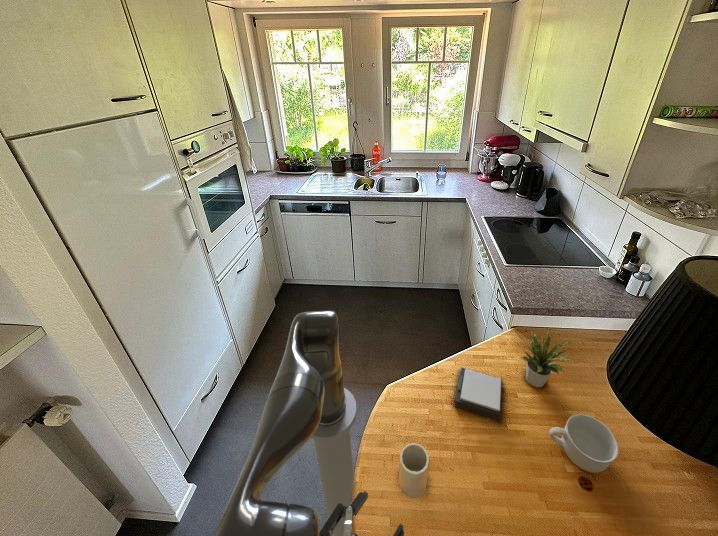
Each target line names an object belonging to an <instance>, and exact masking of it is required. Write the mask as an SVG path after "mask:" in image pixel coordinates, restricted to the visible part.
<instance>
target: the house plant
mask: <svg viewBox="0 0 718 536" xmlns="http://www.w3.org/2000/svg"><path fill="white" fill-rule="evenodd" d="M529 332H530V335H531V338H532V340H531V342H529V345H530V346H531V347H530V346H528V345H527V344H525V343H521V345H522V346H524V347H525V348H527V349H528V350H529V351H530V352H531V354H532V355H533V356H531V354H529V353H528V352H527V351H526V350H525V349H522V352H524V354H525V356H521V357H519V358H520V359H523V361H526V367H525V368H526V369H525V380H526V382H527V383H528V384H529V385H530V386H532V387H534V388H542V387H544V385H545V384H546V383H547V381H548V380H549V378H550V377H551V375H553V374H552V373H556V374H558V375H560V373H559V371H560V372H561V373H563V367H562V366H561V364H558V363H553V362H556V361H560V360H561V361H568V362H570V363H573V364H576V362H575V361H574V360H572V359H571V358H568V357H564V356H561V355H564V354H565V353H566V352H570V350H569V349H564V350H561V351H558V352H557V350H559V349H560V348H562V347H564V346H566V345H567V344H570V343H571V341H563V342H560V343H558V344H556V345H555V346H553V347H552V348H551V350H549V348H550V344H551V335H550V331H549V329H547V330H546V335H545V337H546V338H545V340H544V338H543V336H542V334H541V333H539V336H540V338H541V339H540V338H539V339H537V335H536V333H534V332H532V331H531V330H529ZM541 342H542V343H541ZM548 351H549V352H548Z"/></svg>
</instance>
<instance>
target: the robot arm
mask: <svg viewBox="0 0 718 536" xmlns="http://www.w3.org/2000/svg"><path fill="white" fill-rule="evenodd" d="M340 331H341V330H340V321H339V316H338V314H337V312H336V311H335V310H315V311H314V310H313V311H303V312H299V313H297V314H296V315H295V316H294V318H293V320H292V323H291V325H290V329H289V331H288V332H289V333H288V337H287V342H286V345H285V350H284V352H283V356H282V358H281V359H282V360H281V361H280V365H279V367H278V370H277V373H276V375H275V378H274V381H273V383H272V385H271V388H270V389H269V390H270V391H269V393H268V396H267V399H266V401H265V404H264V407H263V411H262V414H261V416H260V420H259V423H258V426H257V428H256V433H255V435H254V438H253V441H252V444H251V447H250V449H249V453H248V454H247V457H246V460H245V462H244V464H243V467H242V470H241V471H240V474H239V476H238V478H237V481H236V484H235V486H234V488H233V491H232V493H231V495H230V497H229V500H228V501H227V505H226V506H225V509H224V511H223V513H222V515H221V518H220V520H219V523H218V525H217V528H216V531H215V533H214V536H334V533H333V531H334V529H335V527H336V526H337V524H338V523H339V521H340V520H341V518H342V517H344V518H345V526H344V536H358V535H357V534H352V525H353V516H354V515H355V516H356V515H357V516H358V513H359V512H360V510H361V509H362V508H363V506H364V505H365V503H366V501H367V500H368V498H369V494H368V493H369V492H367V491H366V490H364V491H363V492H362V491H360V492H358V494H357V495H356V496H355V497H356V498H355V499H354V501H353V502H352V504H351V505H350V506H348V507H346V506H344V505H343V504H342V503H339V504H338V505H337V506H336V508H335V509H334V511H333V513H332V514H331V516H330V517H329V519H328V518H327V520H326V521H325V523H324V525H323V526H322V527H321V529H320V522H319V516H318V514H317V512H316V511H315V510H314V509H313V508H312V507H309V506H306V505H302V504H296V503H287V502H280V501H279V502H278V501H269V500H262V496H263V495H264V493H265V491H266V490H267V488H268V486H269V484H270V483H271V481H273V479H274V477H275V476H276V475H277V473H278V472H280V470H281V469H282V468H283V467H284V466H285V465H286V464H287V463H288V462H289V461H290V460H291V459H292V458H293V457H294V456H295V455H296V454H297V453H298V452H299V451H300V450H301V449H302V448H303V447H304V446H305V445H306V444H307V443H308V442H309V441H310V440H311V439H312V438H311V437H312V436H313V434H314V433H315V431H316V430H317V428H318V426H319V425H321V426H331V425H334V424H336V423H338V422H339V421H340V420H341V419H342V418H343V416H344V414H345V411H346V403H347V402H346V403H345V399H346V397H345V393H344V388H345V386H344V385H345V384H344V373H343V364H342V355H341V341H340V339H341V337H340V336H341V335H340V333H341V332H340ZM404 528H405V526H404V525H403V524H402V523H399V524H398V526H397V528H396V529H395V531H394V533H393V535H392V536H405V530H404Z"/></svg>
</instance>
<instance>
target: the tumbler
mask: <svg viewBox="0 0 718 536" xmlns="http://www.w3.org/2000/svg"><path fill="white" fill-rule="evenodd" d="M429 465H430V457H429V453H428V451H427V449H426V448H425V447H424V446H423V445H421V444H419V443H416V442H410V443H408V444H406V445H404V447H403V448H402V449H401V450H400V454H399V466H398V467H399V470H398V485H399V488H400V490H401V492H402V493H403V494H404V495H405V496H406V497H407V498H410V499H417V498H420V497H421V496H422V495H423V494H424V493H425V491H426V488H427V483H428V475H429Z"/></svg>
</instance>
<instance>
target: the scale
mask: <svg viewBox="0 0 718 536" xmlns="http://www.w3.org/2000/svg"><path fill="white" fill-rule="evenodd" d="M502 393H503V378H501V377H498V376H494V375H490V374H487V373H483V372H479V371H476V370H473V369H469V368H466V367H461V368H460V373H459V379H458V384H457V390H456V395H455V399H454V407H456V408H459V409H462V410H465V411H467V412H472V413H474V414H477V415H481V416H484V417H487V418H490V419H493V420H496V421H500V419H501V414H502V395H503V394H502Z"/></svg>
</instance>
